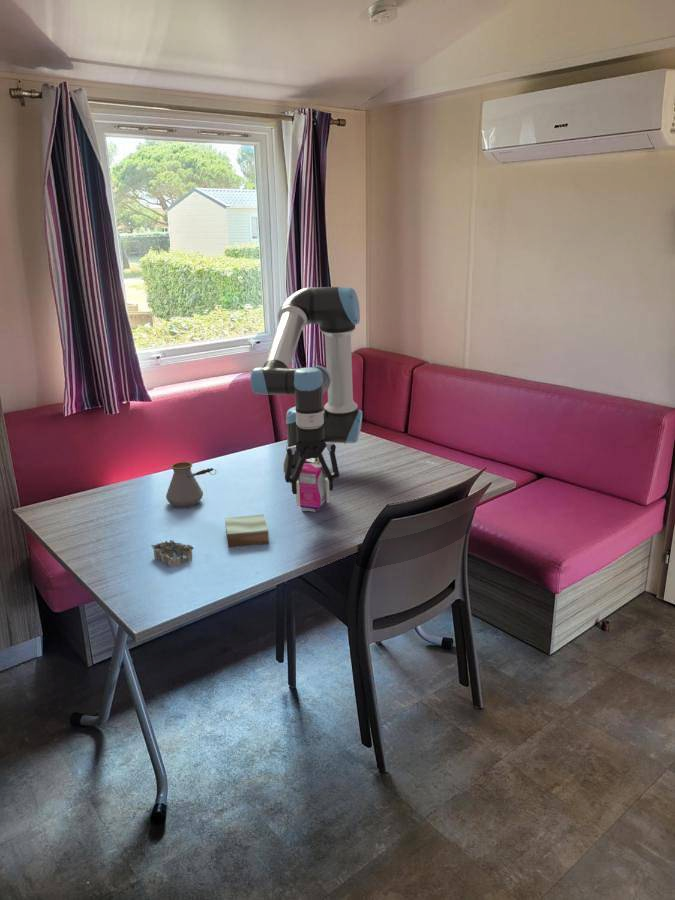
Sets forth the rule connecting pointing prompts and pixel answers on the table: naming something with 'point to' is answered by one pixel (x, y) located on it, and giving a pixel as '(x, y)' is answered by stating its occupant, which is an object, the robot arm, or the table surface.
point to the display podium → (246, 530)
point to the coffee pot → (184, 486)
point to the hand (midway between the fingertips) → (312, 502)
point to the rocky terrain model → (172, 553)
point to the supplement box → (312, 486)
